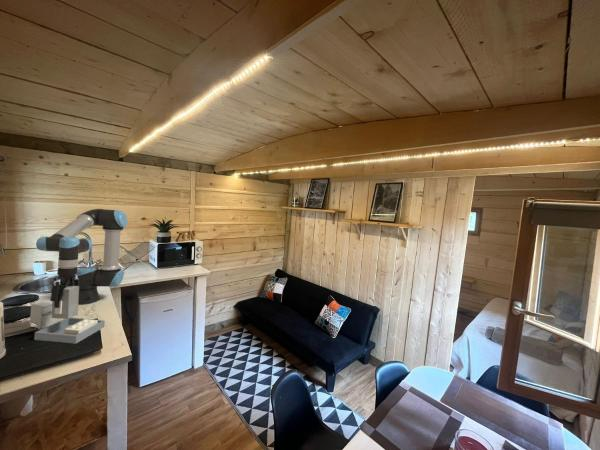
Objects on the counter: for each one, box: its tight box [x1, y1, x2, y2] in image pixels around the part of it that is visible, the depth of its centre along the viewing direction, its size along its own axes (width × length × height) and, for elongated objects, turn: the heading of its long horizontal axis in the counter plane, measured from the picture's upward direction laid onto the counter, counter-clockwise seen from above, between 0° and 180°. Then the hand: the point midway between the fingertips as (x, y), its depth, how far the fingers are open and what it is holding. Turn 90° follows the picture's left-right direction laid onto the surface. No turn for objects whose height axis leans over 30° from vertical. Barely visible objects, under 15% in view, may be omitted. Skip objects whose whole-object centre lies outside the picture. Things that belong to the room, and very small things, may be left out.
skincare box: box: [52, 285, 79, 320], centre depth 130 cm, size 8×7×16 cm
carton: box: [64, 318, 99, 335], centre depth 130 cm, size 12×7×6 cm, turn 1°
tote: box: [33, 317, 105, 345], centre depth 130 cm, size 18×20×4 cm
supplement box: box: [29, 300, 57, 330], centre depth 136 cm, size 7×7×13 cm
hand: (64, 310), depth 130 cm, fingers closed on skincare box, 7 cm apart
